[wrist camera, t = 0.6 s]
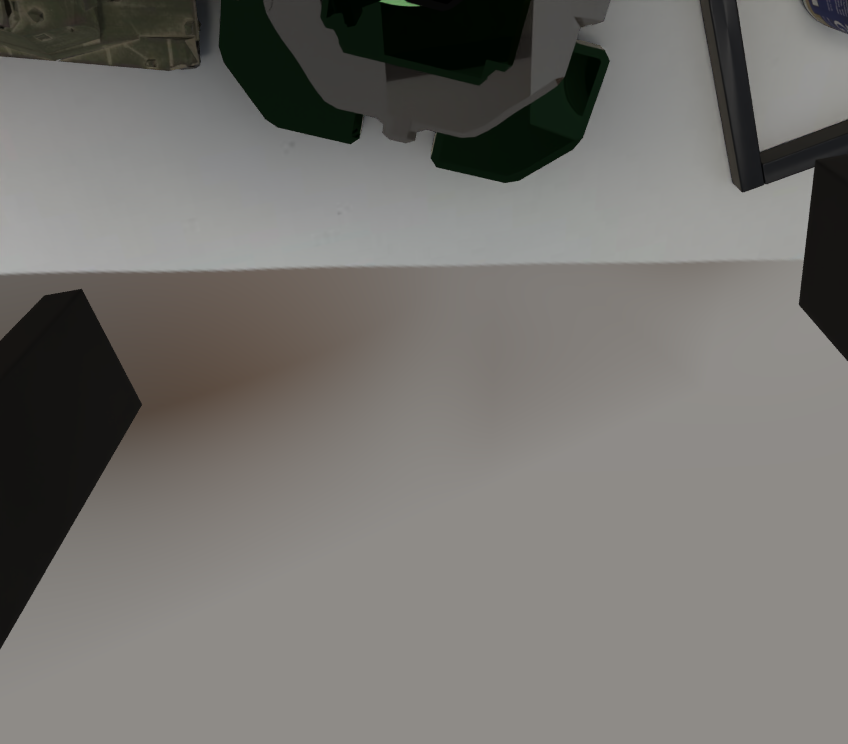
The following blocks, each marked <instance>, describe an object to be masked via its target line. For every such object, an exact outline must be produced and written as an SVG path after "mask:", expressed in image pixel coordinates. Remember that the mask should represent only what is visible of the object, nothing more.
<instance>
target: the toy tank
mask: <svg viewBox="0 0 848 744" xmlns="http://www.w3.org/2000/svg"><path fill="white" fill-rule="evenodd" d="M200 26H201V23H200V22H199V21H198V19H197V9H196V0H0V56H4V57H16V58H28V59H39V60H51V61H56V60H58V59H62V60H60V61H63V62H74V63H86V64H97V65H108V66H120V67H131V68H143V69H154V70H165V71H170V70H175V69H181V70H184V69H193V68H197V67H198V66H200V62H201V60H200V48H199V40H200V39H199V31H200Z"/></svg>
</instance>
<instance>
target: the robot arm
mask: <svg viewBox="0 0 848 744" xmlns="http://www.w3.org/2000/svg"><path fill="white" fill-rule="evenodd" d="M799 305H800V307H801V308H802V309H803V310H804V311H805V312H806V313H807V315H808V316H809V317H810V318H811V319H812V320H813V322H814V323H815V324H816V325H817V326H818V327H819V329H820V330H821V331H822V332H823V333H824V334H825V335H826V337H827V338H828V339H829V340H830V341H831V342H832V344H833V345H834V346H835V347H836V348H837V349H838V351H839V352H840V353H841V354H842V355H843V356H844V357H845V358H846V360H847V361H848V154H846V155H840V156H834V157H829V158H823V159H817V160H815V169H814V177H813V186H812V195H811V203H810V212H809V221H808V229H807V238H806V247H805V255H804V264H803V273H802V281H801V290H800V299H799ZM141 406H142V404H141V402H140V400H139V398H138V396H137V394H136V392H135V390H134V388H133V386H132V384H131V383H130V381H129V379H128V377H127V375H126V373H125V371H124V369H123V367H122V365H121V363H120V361H119V359H118V358H117V356H116V354H115V352H114V350H113V348H112V346H111V344H110V342H109V340H108V338H107V336H106V335H105V333H104V331H103V329H102V327H101V325H100V323H99V321H98V319H97V318H96V315H95V313H94V312H93V310H92V308H91V306H90V304H89V302H88V300H87V298H86V296H85V294H84V292H83V290H82V289H79V290H73V291H67V292H62V293H56V294H51V295H45V296H44V297H43V298H42V299H41V300H40V301H39V302H38V303H37V304H36V305H35V306H34V307H33V308H32V309H31V310H30V311H29V312H28V313H27V314H26V315H25V316H24V317H23V318H22V319H21V320H20V321H19V322H18V323H17V324H16V325H15V326H14V327H13V328H12V329H11V330H10V331H9V333H7V334H6V335H5V336H4V338H3V339H2V340H1V341H0V649H1V647H2V645H3V643H4V642H5V640H6V638H7V637H8V635H9V633H10V631H11V630H12V628H13V626H14V624H15V623H16V621H17V619H18V618H19V616H20V614H21V613H22V611H23V609H24V607H25V606H26V604H27V602H28V600H29V599H30V597H31V595H32V594H33V592H34V590H35V588H36V586H37V585H38V583H39V581H40V580H41V578H42V576H43V575H44V573H45V571H46V569H47V567H48V566H49V564H50V563H51V561H52V559H53V557H54V556H55V554H56V552H57V550H58V549H59V547H60V545H61V544H62V542H63V540H64V538H65V537H66V535H67V533H68V531H69V530H70V528H71V526H72V525H73V523H74V521H75V519H76V518H77V516H78V514H79V512H80V511H81V509H82V507H83V506H84V504H85V502H86V500H87V499H88V497H89V495H90V494H91V492H92V490H93V488H94V487H95V485H96V483H97V481H98V480H99V478H100V476H101V475H102V473H103V471H104V469H105V468H106V466H107V464H108V462H109V461H110V459H111V457H112V455H113V454H114V452H115V450H116V449H117V447H118V445H119V444H120V442H121V440H122V438H123V437H124V435H125V433H126V431H127V430H128V428H129V426H130V424H131V423H132V421H133V419H134V418H135V416H136V414H137V413H138V411H139V409H140V407H141Z"/></svg>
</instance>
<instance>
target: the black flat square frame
mask: <svg viewBox="0 0 848 744" xmlns="http://www.w3.org/2000/svg"><path fill="white" fill-rule="evenodd" d="M700 2H701V8H702V14H703V19H704V25H705V30H706V36H707V42H708V47H709V53H710V58H711V64H712V69H713V75H714V81H715V86H716V92H717V97H718V103H719V109H720V114H721V120H722V125H723V131H724V136H725V142H726V148H727V153H728V159H729V164H730V170H731V175H732V181H733V184H734V185H735V186H736V187H737V188H738V189H739V190H740V191H741V192H746V191H749V190H751V189H754V188H757V187H760V186H762V185H764V184H769V183H771V182H774V181H777V180H780V179H782V178H785V177H788V176H791V175H794V174H796V173H799V172H802V171H805V170H807V169H810V168H813V167H815V160H817V159H823V158H829V157H834V156H840V155H846V154H848V120H847V121H844V122H841V123H839V124H836V125H833V126H831V127H828V128H825V129H823V130H820V131H817V132H815V133H812V134H809V135H806V136H804V137H801V138H798V139H796V140H793V141H790V142H788V143H785V144H782V145H780V146H777V147H774V148H772V149H769V150H766V151H763V152H761V153H760V151H759V145H758V138H757V132H756V125H755V119H754V112H753V105H752V99H751V92H750V86H749V79H748V73H747V66H746V60H745V53H744V47H743V40H742V34H741V27H740V21H739V14H738V8H737V1H736V0H700Z"/></svg>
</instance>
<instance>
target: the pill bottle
mask: <svg viewBox="0 0 848 744" xmlns="http://www.w3.org/2000/svg"><path fill="white" fill-rule="evenodd" d="M803 2H804V5H805V7H806V8H807V10H808V11H809V13H810V14H811V15H812V16H813V17H814V18H815V19H816V20H818V21H819V22H821V23H823V24H824V25H826V26H828V27H831V28H834V29H836V30H839V31H842V32H844V33H847V34H848V0H803Z"/></svg>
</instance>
